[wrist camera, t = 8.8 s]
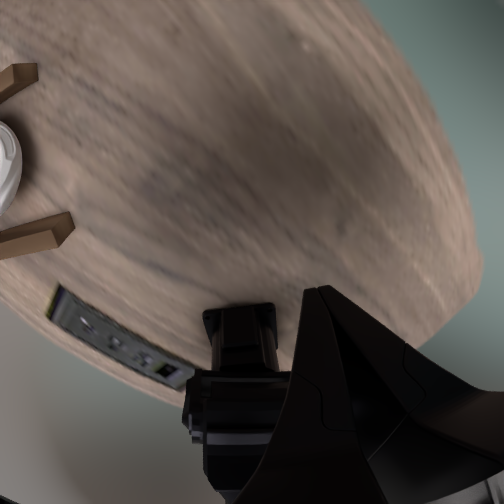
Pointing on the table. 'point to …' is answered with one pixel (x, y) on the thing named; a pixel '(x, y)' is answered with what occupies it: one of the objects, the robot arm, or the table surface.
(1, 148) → the white carved ball
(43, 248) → the carrier cradle
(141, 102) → the table surface
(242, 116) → the table surface
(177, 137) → the table surface
